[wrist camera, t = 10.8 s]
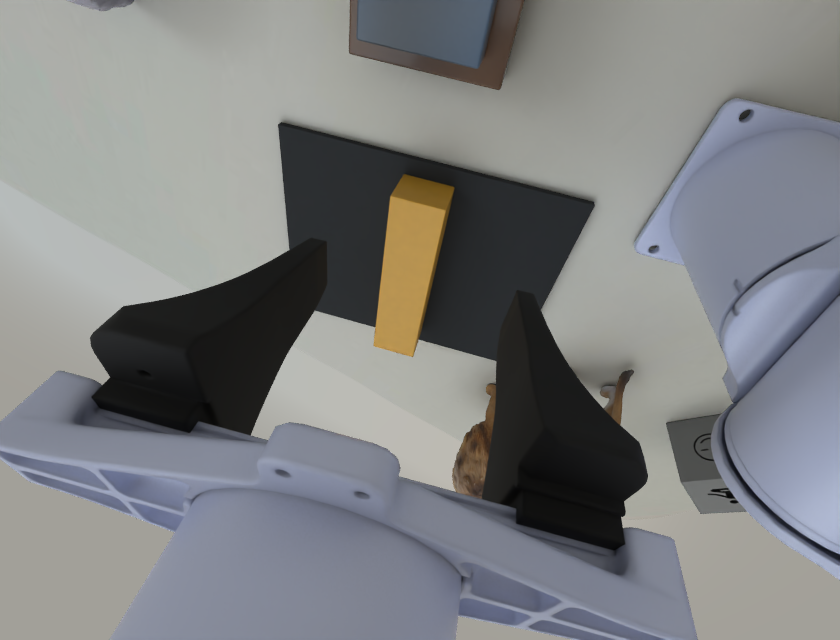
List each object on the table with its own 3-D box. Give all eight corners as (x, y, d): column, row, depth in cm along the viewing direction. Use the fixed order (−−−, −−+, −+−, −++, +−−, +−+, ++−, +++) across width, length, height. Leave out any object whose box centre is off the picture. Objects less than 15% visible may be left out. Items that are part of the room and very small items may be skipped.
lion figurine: (484, 426, 38) (472, 522, 32) (450, 394, 36) (430, 491, 30) (646, 384, 30) (674, 503, 23) (614, 339, 28) (636, 458, 21)
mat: (594, 201, 22) (594, 205, 21) (512, 361, 31) (512, 365, 31) (281, 122, 23) (277, 124, 22) (296, 301, 32) (294, 304, 32)
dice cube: (740, 410, 30) (767, 474, 26) (755, 446, 32) (782, 509, 28) (665, 423, 32) (681, 482, 29) (684, 455, 34) (700, 513, 31)
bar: (421, 330, 31) (412, 357, 29) (384, 320, 31) (373, 346, 29) (455, 186, 22) (446, 210, 20) (403, 173, 23) (390, 195, 21)
